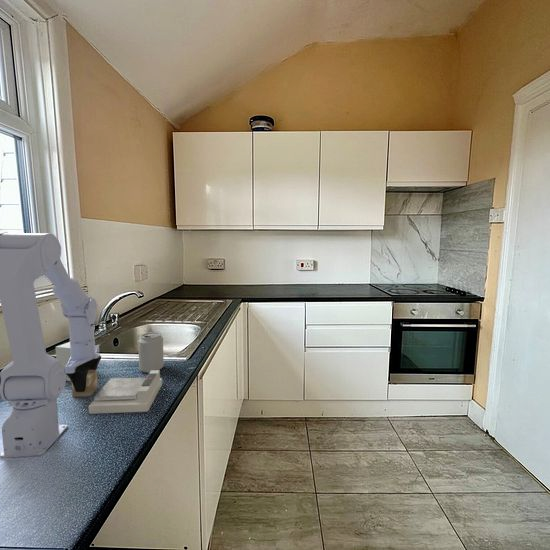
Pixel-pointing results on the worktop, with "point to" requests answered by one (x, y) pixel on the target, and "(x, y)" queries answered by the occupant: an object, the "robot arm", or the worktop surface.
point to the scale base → (139, 404)
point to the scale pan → (120, 389)
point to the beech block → (88, 385)
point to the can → (150, 352)
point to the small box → (63, 356)
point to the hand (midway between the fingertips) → (85, 386)
